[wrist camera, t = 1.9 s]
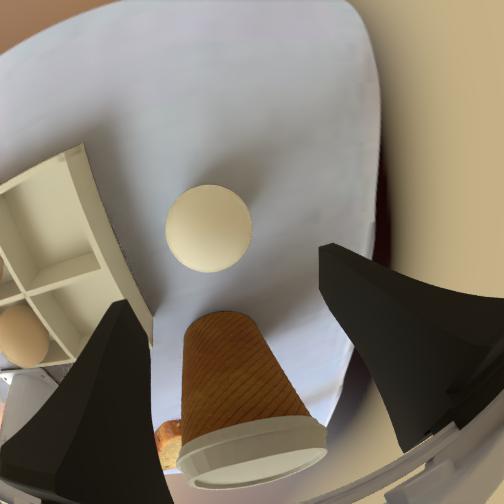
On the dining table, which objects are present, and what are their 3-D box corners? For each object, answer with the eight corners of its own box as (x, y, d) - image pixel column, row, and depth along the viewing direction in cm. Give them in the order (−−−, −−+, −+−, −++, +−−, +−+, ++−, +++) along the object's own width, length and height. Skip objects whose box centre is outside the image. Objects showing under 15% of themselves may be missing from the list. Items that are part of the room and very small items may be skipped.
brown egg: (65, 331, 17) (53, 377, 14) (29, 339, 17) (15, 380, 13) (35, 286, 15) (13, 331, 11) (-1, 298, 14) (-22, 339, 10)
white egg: (247, 235, 18) (268, 276, 14) (178, 253, 17) (180, 300, 14) (234, 166, 15) (255, 191, 12) (157, 186, 15) (150, 218, 11)
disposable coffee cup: (256, 274, 20) (328, 428, 10) (286, 347, 25) (338, 457, 15) (141, 323, 19) (144, 477, 10) (196, 381, 25) (220, 495, 15)
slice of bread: (185, 411, 28) (189, 438, 25) (252, 441, 38) (258, 459, 35) (96, 439, 29) (96, 459, 26) (172, 465, 39) (174, 481, 36)
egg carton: (153, 317, 19) (152, 347, 17) (30, 343, 18) (21, 369, 15) (83, 142, 12) (63, 152, 10) (-45, 216, 11) (-66, 235, 8)
